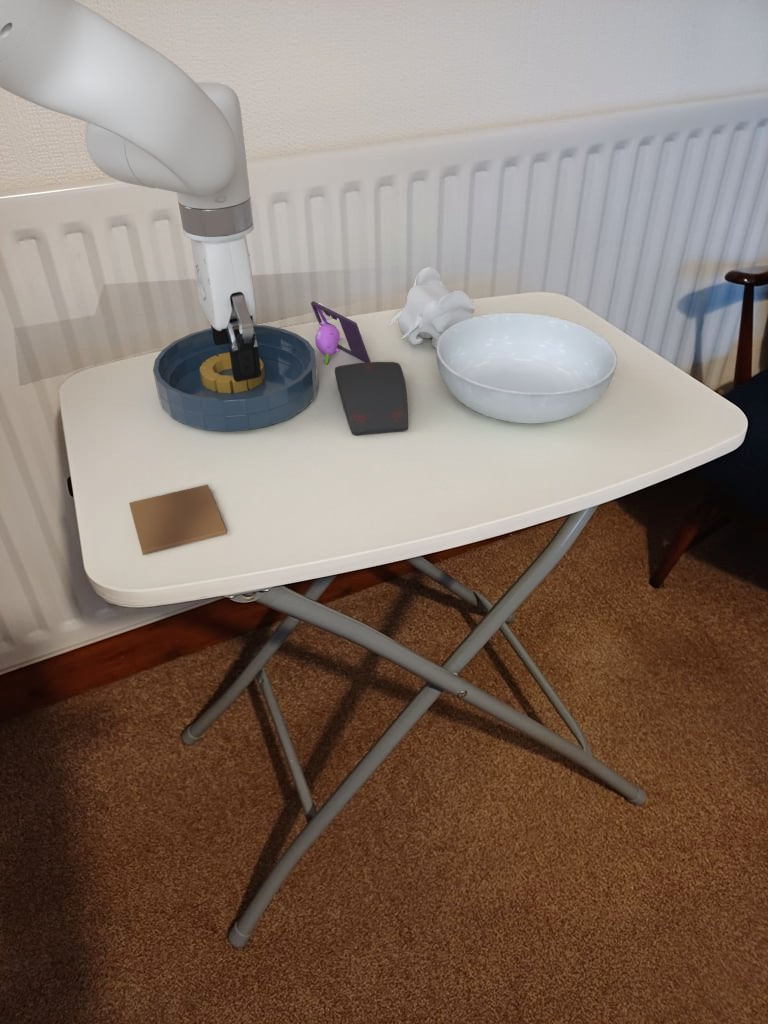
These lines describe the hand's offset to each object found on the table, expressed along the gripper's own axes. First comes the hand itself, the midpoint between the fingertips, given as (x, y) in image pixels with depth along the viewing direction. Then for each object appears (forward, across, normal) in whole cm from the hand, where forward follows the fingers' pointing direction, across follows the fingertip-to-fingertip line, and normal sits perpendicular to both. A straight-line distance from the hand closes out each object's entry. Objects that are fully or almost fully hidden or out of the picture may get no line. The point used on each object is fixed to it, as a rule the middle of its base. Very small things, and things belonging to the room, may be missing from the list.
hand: (237, 359), depth 94 cm
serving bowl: (+5, +15, +31) cm, 35 cm away
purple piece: (+5, -4, +14) cm, 15 cm away
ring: (+4, -3, 0) cm, 5 cm away
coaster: (+4, +22, -12) cm, 26 cm away
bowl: (+4, 0, 0) cm, 4 cm away
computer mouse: (+5, +9, +14) cm, 17 cm away
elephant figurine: (+5, -3, +28) cm, 28 cm away
